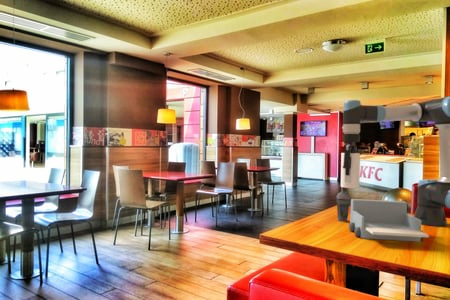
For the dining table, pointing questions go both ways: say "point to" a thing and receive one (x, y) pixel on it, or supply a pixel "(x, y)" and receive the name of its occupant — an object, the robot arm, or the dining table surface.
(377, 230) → the tailgate
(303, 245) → the dining table surface
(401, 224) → the truck bed
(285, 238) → the dining table surface
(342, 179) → the cup
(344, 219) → the beverage cup
